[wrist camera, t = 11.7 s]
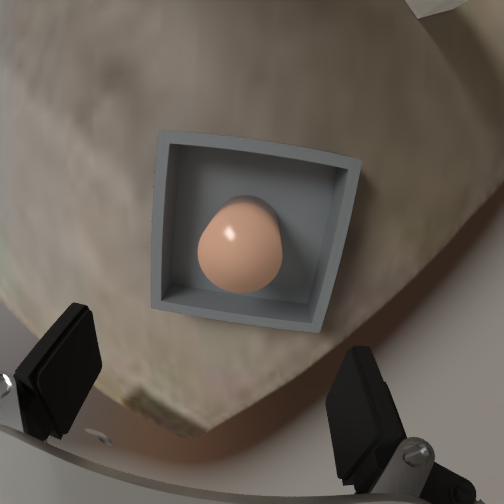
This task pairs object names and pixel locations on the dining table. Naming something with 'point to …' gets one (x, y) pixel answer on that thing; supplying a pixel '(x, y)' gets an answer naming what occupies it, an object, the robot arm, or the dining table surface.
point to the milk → (432, 6)
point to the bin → (283, 203)
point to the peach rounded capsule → (241, 245)
